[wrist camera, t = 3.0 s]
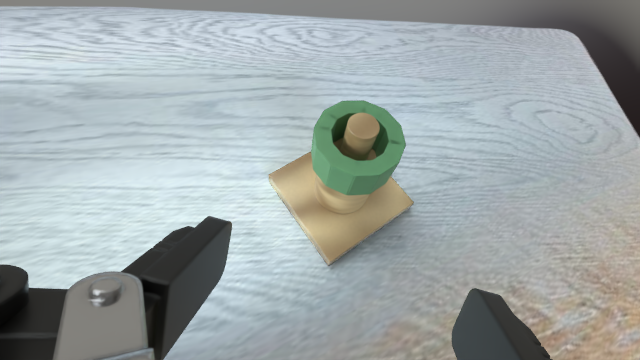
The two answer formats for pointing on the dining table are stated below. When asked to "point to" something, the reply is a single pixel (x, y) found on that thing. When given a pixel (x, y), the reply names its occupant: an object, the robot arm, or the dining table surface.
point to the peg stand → (339, 196)
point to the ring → (347, 171)
